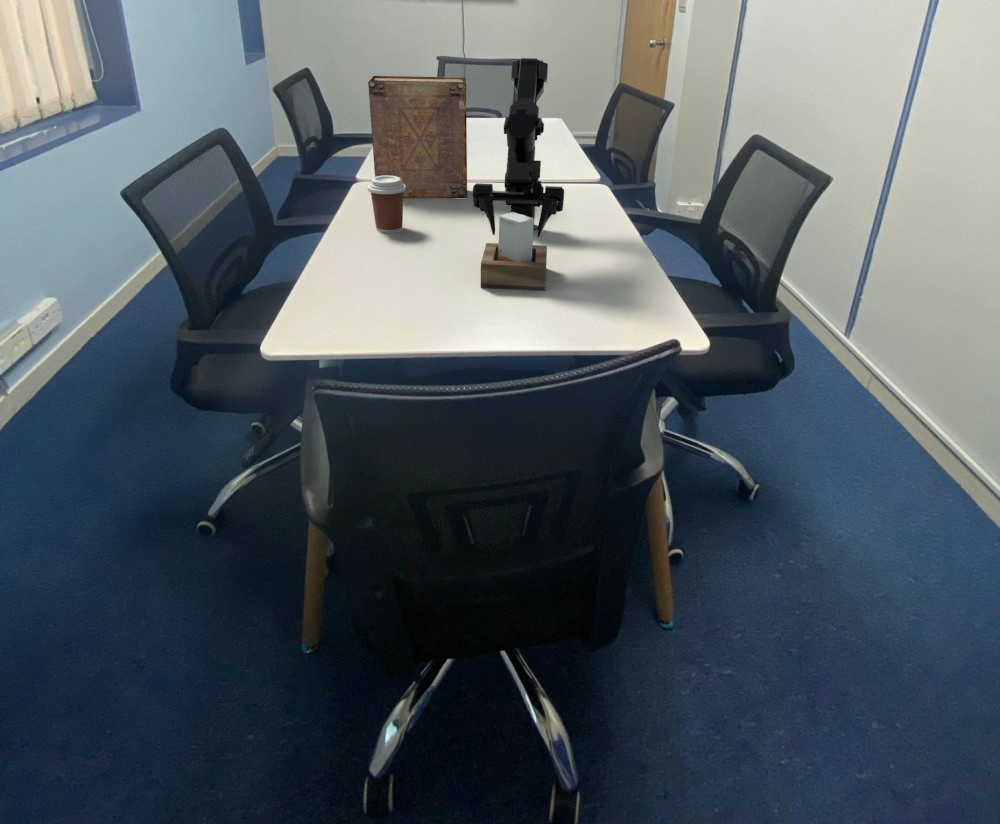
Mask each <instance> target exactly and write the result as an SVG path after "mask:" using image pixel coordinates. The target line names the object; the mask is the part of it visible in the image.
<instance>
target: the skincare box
mask: <svg viewBox="0 0 1000 824" xmlns="http://www.w3.org/2000/svg"><path fill="white" fill-rule="evenodd" d="M510 212H511V211H510ZM510 212H509V213H508V212H507V213H504V214H501V215H499V217H498V218H499V219H498V243H499V248H498V261H513V262H532V245H534V243H533V242H534V231H533V226H534V225H535V218H531V217H527V216H525V215H521V214H517V213H514V212H511V213H510Z"/></svg>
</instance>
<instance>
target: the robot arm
mask: <svg viewBox="0 0 1000 824" xmlns="http://www.w3.org/2000/svg"><path fill="white" fill-rule="evenodd" d="M548 69H549V64H548V62H544V61H543V60H540V59H538V58H534V57H520V58H518V59H517V60H516V61H512V62H511V72H510V73H511V75H510V76H511V77H510V78H511V79H510V81H512V82H513V85H514V86H513V87H514V92H515V94H516V98H515V101H514V103H512V104H511V105H510V106H509V111H508V116H505V117H504V118H505V119H504V123H503V134H504V135H506V145H507V148H508V149H507V159H506V161H507V162H506V172H505V173H504V188H505V189H504V190H494V189H493V188H494V186H493V184H492V183H482V182H481V183H477V182H476V183H475V184H474V185H473V186H472V201H473V207H474V208H476V209H479V211H480V212H482V213H485V217H486V218H487V219H488V223H489V226H490V229H491V233H492V236H495V234H496V221H495V208H494V201H496V202H498V201H499V202H505V206H506V207H507V206H510V212H509V213H511V212H514V213H517V214H521V215H525V216H527V217H531V218H534V219H535V215H536V210H535V209H536V207H537V208H540V207H541V211H540V216H539V221H538V224H534V226H533V232H534V231H535V230H537V238H540V237H541V236H542V235H541V234H542V232H543V230H544V228H545V225H546V224H547V222H548V221H549V219H550V218H551V216H555V215H557V213H560V212H563V210H564V200H565V189H564V188H563V186H555V185H554V186H552V185H550V186H549V185H546V186H545V188H544V186H543V184H542V181H541V180H539V179H540V178H541V167H542V165H541V163H542V160H535V158H536V156H535V155H536V141H537V140H538V136H540V137H541V135H542V134H543V133H544V130H545V123H544V122H543V118H542V117H539V114H540V107H539V106H538V105H537V103H538V101H539V99H540V98H541V97H542V95H543V93H544V89H545V83H548V76H549V75H548V73H549V72H548V71H549V70H548Z"/></svg>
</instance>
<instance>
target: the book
mask: <svg viewBox="0 0 1000 824" xmlns="http://www.w3.org/2000/svg"><path fill="white" fill-rule="evenodd" d="M367 84H368V85H367V87H368V100H369V101H368V102H369V114H370V126H371V127H370V128H371V138H372V152H373V153H372V155H373V156H372V157H373V165H374V167H373V168H374V169H373V170H374V177H377V176H386V175H388V176H397V177H399V178H401V182H402V183H403V184H405V186H406V190H405V191H404V192H403V199H453V198H466V199H467V198H468V155H467V154H468V148H467V147H468V146H467V145H468V141H467V140H468V139H467V137H468V135H467V133H468V132H467V83H466V77H464V76H461V77H460V76H412V75H411V76H409V75H408V76H406V75H405V76H404V75H399V76H397V75H373V76H371V77H370V79H369V80H368V81H367Z"/></svg>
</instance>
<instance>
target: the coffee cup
mask: <svg viewBox="0 0 1000 824" xmlns="http://www.w3.org/2000/svg"><path fill="white" fill-rule="evenodd" d="M370 181H371V182H370V183H369V184H368V185H367V191H368V192H369V193H370V196H371V203H372V209H373V217H374V224H375V230H376V231H377V232H380V233H384V234H385V233H386V234H390V233H397V232H401V231H402V230H403V218H404V216H403V215H404V198H403V192H404V191H405V190H406V186H405V184H403V183H402V182H401V178H399V177H397V176H388V175H386V176H377V177H375V176H374V177H372V179H371V180H370Z"/></svg>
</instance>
